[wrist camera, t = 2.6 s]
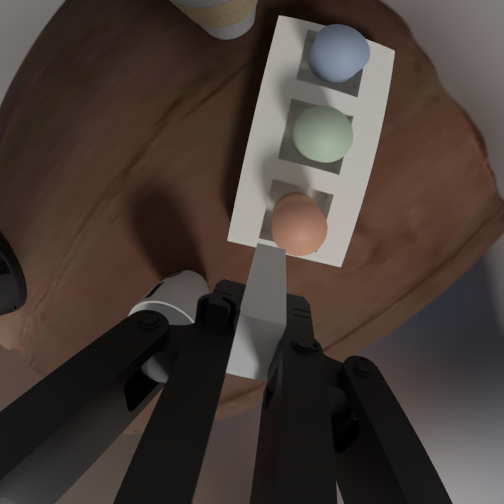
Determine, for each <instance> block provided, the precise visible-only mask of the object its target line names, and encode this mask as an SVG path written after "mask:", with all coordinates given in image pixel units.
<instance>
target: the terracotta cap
mask: <svg viewBox="0 0 504 504" xmlns="http://www.w3.org/2000/svg"><path fill="white" fill-rule="evenodd" d="M327 230H328V226H327V221H326V218H325V216H324V214H323V213H322V212H321V210H320V209H319V207H318V206H317V204H316V203H315V202H314V200H313V199H312V198H311V197H309V196H308V195H306V194H304V193H300V192H291V193H288V194H285V195H283V196H282V197H280V198H279V199H278V200H277V202H276V203H275V205H274V207H273V211H272V229H271V231H272V237H273V239H274V242H275V243H276V245H277V246H278V247H279V248H281V249H285V250H286V253H287V254H290V255H293V256H305V255H308V254H311V253H313V252H315V251H316V250H317V249H319V248H320V247H321V245H322V244H323V243H324V241H325V239H326V236H327Z"/></svg>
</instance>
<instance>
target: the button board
mask: <svg viewBox="0 0 504 504" xmlns="http://www.w3.org/2000/svg"><path fill="white" fill-rule="evenodd" d="M324 27H326V26H324V25H320V24H317V23H313V22H309V21H304V20H300V19H295V18H290V17H285V16H280V15H279V17H278V21H277V25H276V29H275V32H274V36H273V40H272V44H271V48H270V52H269V56H268V60H267V64H266V68H265V72H264V76H263V80H262V84H261V88H260V92H259V96H258V101H257V105H256V109H255V113H254V118H253V122H252V126H251V131H250V135H249V140H248V144H247V149H246V153H245V158H244V162H243V167H242V171H241V176H240V181H239V185H238V190H237V195H236V200H235V205H234V210H233V214H232V219H231V224H230V229H229V234H228V239H227V241H231V242H235V243H239V244H244V245H248V246H252V247H257V243H261V244H265V245H269V246H273V247H277V248H279V247H278V246H277V245H276V243H275V242H274V239H273V237H272V231H271V229H272V211H273V207H274V205H275V203H276V202H277V200H278V199H279V198H280V197H282V196H283V195H285V194H288V193H291V192H300V193H304V194H306V195H308V196H309V197H311V198H312V199H313V200H314V202H315V203H316V204H317V206H318V207H319V209H320V210H321V212H322V213H323V214H324V216H325V218H326V221H327V226H328V230H327V236H326V239H325V241H324V243H323V244H322V245H321V247H320V248H319V249H317V250H316V251H315V252H313V253H311V254H308V255H305V256H295V257H299V258H304V259H308V260H312V261H316V262H320V263H325V264H329V265H333V266H337V267H341V265H342V262H343V260H344V257H345V254H346V251H347V248H348V245H349V242H350V239H351V236H352V233H353V230H354V227H355V224H356V221H357V218H358V214H359V211H360V208H361V205H362V201H363V198H364V194H365V191H366V187H367V184H368V180H369V176H370V173H371V169H372V165H373V161H374V157H375V153H376V149H377V145H378V141H379V136H380V132H381V127H382V123H383V118H384V113H385V108H386V103H387V98H388V92H389V87H390V81H391V74H392V68H393V61H394V54H395V51H394V50H392V49H389V48H387V47H385V46H382V45H380V44H377V43H375V42H372V41H370V40H367V39H366V41H367V43H368V45H369V48H370V58H369V61H368V62H367V64H366V65H365V66H364V67H363V68H362V69H360V70H359V71H358V72H357V73H356V74H355V75H354V76H352V77H351V78H350V79H349V80H348V81H346V82H344V83H341V84H330V83H327V82H324V81H322V80H320V79H319V78H317V77H316V76H315V75H314V74H313V72H312V71H311V69H310V66H309V62H308V59H309V55H310V52H311V49H312V47H313V44H314V41H315V38H316V36H317V34H318V32H319V31H320V30H321V29H322V28H324ZM319 105H325V106H330V107H333V108H336V109H337V110H339V111H341V112H342V113H343V114H344V115H345V116H346V117H347V119H348V120H349V122H350V124H351V126H352V130H353V142H352V145H351V148H350V149H349V151H348V152H347V154H346V155H345V156H343V157H342V158H341V159H339V160H337V161H334V162H327V163H325V162H318V161H315V160H311V159H308V158H306V157H304V156H302V155H301V154H300V153H299V152H298V151H297V150H296V149H295V147H294V145H293V143H292V138H291V133H292V128H293V126H294V124H295V122H296V121H297V120H298V118H299V117H300V116H301V115H302V113H304V112H305V111H306V110H307V109H309V108H311V107H314V106H319ZM286 254H287V253H286ZM287 255H290V254H287ZM291 256H293V255H291Z"/></svg>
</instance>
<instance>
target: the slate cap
mask: <svg viewBox="0 0 504 504" xmlns="http://www.w3.org/2000/svg"><path fill="white" fill-rule="evenodd" d="M369 58H370V48H369V45H368V43H367V41H366V39H365V38H364V37H363V36H362V35H361V34H360V33H359V32H358V31H357V30H355V29H353V28H351V27H349V26H346V25H341V24H333V25H328V26H326V27H324V28H322V29H321V30H320V31H319V32H318V34H317V36H316V38H315V41H314V44H313V47H312V49H311V52H310V55H309V59H308V62H309V66H310V69H311V71H312V72H313V74H314V75H315V76H316V77H317V78H319V79H320V80H322V81H324V82H327V83H330V84H341V83H344V82H346V81H348V80H349V79H350V78H351V77H352V76H354V75H355V74H356V73H357V72H358V71H359V70H360V69H362V68H363V67H364V66H365V65H366V64H367V62H368V61H369Z"/></svg>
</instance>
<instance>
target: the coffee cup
mask: <svg viewBox="0 0 504 504" xmlns="http://www.w3.org/2000/svg"><path fill="white" fill-rule="evenodd" d="M169 1H171V2H172V3H173V4H174V5H175V6H177V7H178V8H179V9H180V10H181V11H182V12H184V13H185V14H186V15H187V16H188V17H189V18H190V19H192V20H193V21H194V22H196V23H197V24H199V25H200V26H201V27H202V28H203V29H204V30H205V31H207V32H208V33H209V34H210V35H212V36H213V37H216V38H219V39H234V38H237V37H239V36H241V35H243V34H244V33H246V32H247V31H248V30H249V29H250V28H251V27H252V25H253V23H254V20H255V11H256V5H257V2H258V0H169Z"/></svg>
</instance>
